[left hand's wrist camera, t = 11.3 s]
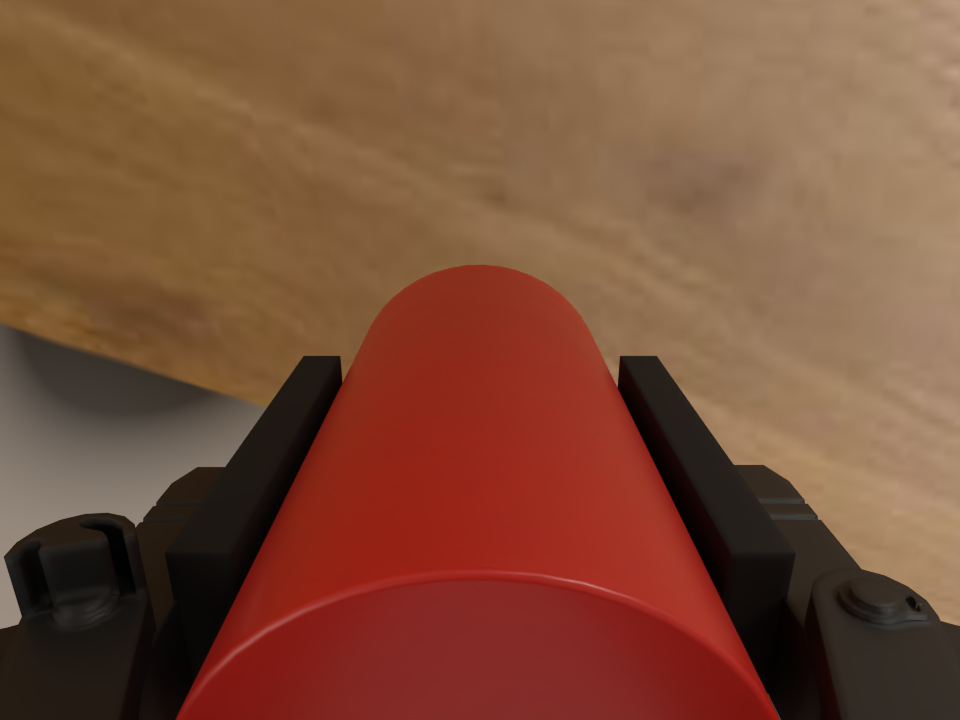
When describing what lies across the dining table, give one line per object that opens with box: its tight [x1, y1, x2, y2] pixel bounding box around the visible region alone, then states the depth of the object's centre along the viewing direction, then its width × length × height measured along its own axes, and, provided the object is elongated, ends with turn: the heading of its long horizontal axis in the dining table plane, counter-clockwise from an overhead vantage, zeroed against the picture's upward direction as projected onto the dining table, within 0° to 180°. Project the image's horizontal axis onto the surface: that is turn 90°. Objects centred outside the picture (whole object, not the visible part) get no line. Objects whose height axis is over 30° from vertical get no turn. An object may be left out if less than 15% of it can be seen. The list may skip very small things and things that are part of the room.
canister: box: [175, 265, 779, 720], centre depth 11 cm, size 6×6×11 cm
